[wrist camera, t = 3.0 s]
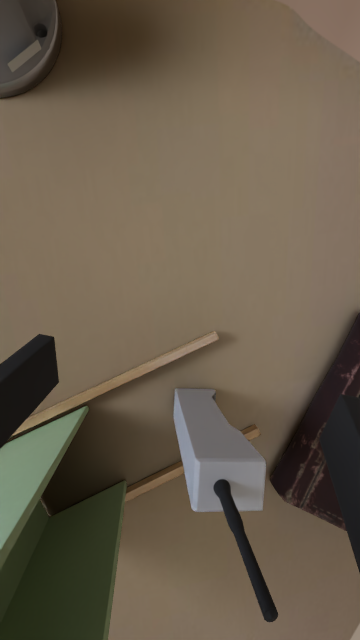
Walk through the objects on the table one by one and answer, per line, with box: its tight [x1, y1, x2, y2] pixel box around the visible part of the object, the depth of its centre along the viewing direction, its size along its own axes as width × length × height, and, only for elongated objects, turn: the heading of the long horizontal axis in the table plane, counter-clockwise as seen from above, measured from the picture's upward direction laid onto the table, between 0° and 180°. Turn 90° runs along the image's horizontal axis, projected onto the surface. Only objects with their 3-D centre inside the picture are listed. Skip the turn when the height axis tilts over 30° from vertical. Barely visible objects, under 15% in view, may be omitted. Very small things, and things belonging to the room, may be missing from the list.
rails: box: [11, 331, 261, 502], centre depth 35 cm, size 14×30×1 cm, turn 114°
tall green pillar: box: [0, 406, 127, 640], centre depth 21 cm, size 11×11×28 cm
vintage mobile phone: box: [173, 388, 278, 622], centre depth 24 cm, size 4×5×25 cm
